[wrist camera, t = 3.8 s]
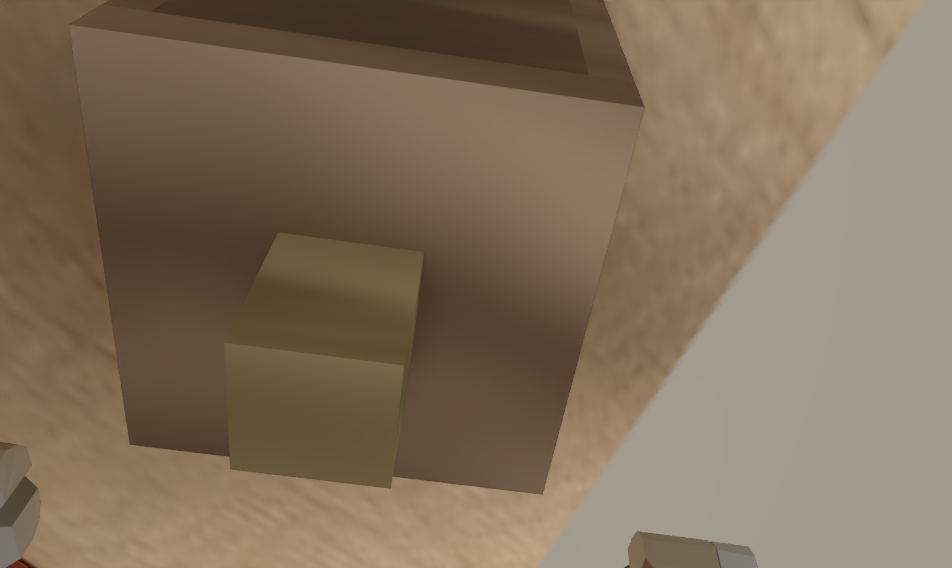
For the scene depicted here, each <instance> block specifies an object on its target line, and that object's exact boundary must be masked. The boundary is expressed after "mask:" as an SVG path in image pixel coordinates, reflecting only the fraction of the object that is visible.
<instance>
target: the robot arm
mask: <svg viewBox="0 0 952 568" xmlns="http://www.w3.org/2000/svg"><path fill="white" fill-rule="evenodd" d="M31 466H32V463H31V460H30V457H29V453H28V450H27V447H25V446H21V445H17V444H11V443H5V442H0V568H6V567H8V566H9V565H11V564H13V563H14V562H16V561H17V560H19V559H21V557H22V555H23V554H24V552H25V551H26V549H27V547H28V546H29V544H30V543H31V541H32V539H33V536H34V533H35V530H36V527H37V524H38V521H39V518H40V504H41V501H40V496H39V492H38V488H37V487H36V486H35V485H34V484H33V483H32V482H30V481H29V480H28V479H27V478H26V477H25V476H24V475H25V474H26V473H27V471H28V470H29V468H30V467H31ZM628 556H629V565H628V566H626V567H625V568H758V566H757V563H756V559H755V556H754V553H753V552H752V551H751V549H750V548H749V547H747V546H740V545H733V544H726V543H718V542H709V541H707V540H701V539H693V538H685V537H678V536H670V535H662V534H654V533H647V532H638V531H637V532H636V533H635V534H634V536H633V537H632V539H631V542H630V544H629V547H628Z"/></svg>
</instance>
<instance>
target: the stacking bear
mask: <svg viewBox="0 0 952 568" xmlns="http://www.w3.org/2000/svg"><path fill="white" fill-rule="evenodd" d="M6 568H29V567H28V566H26V565H25V564H23V563H22V562H20V561H18V560H17V561H16V562H14V563H13V564H11V565H9V566H8V567H6Z"/></svg>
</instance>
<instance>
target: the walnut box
mask: <svg viewBox="0 0 952 568" xmlns="http://www.w3.org/2000/svg"><path fill="white" fill-rule="evenodd" d="M102 5H108V6H115V7H122V8H129V9H136V10H143V11H149V12H156V13H163V14H170V15H177V16H184V17H191V18H198V19H205V20H212V21H218V22H225V23H232V24H239V25H246V26H253V27H260V28H267V29H274V30H281V31H287V32H294V33H301V34H308V35H315V36H322V37H329V38H336V39H343V40H350V41H356V42H363V43H370V44H377V45H384V46H391V47H398V48H405V49H412V50H419V51H425V52H432V53H439V54H446V55H453V56H460V57H467V58H474V59H481V60H488V61H494V62H501V63H508V64H515V65H522V66H529V67H536V68H543V69H550V70H557V71H563V72H570V73H577V74H584V75H591V76H598V77H605V78H612V79H619V80H626V81H632V82H635V81H634V79H633V76H632V74H631V71H630V68H629V66H628V63H627V61H626V58H625V55H624V53H623V50H622V48H621V45H620V43H619V40H618V37H617V35H616V32H615V30H614V27H613V25H612V22H611V19H610V17H609V14H608V12H607V9H606V6H605V4H604V1H603V0H109V1H107V2H106V3H104V4H102Z"/></svg>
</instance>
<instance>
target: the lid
mask: <svg viewBox="0 0 952 568" xmlns="http://www.w3.org/2000/svg"><path fill="white" fill-rule="evenodd" d="M69 31H70V38H71V45H72V52H73V58H74V65H75V72H76V79H77V86H78V93H79V100H80V106H81V113H82V120H83V127H84V134H85V141H86V148H87V154H88V161H89V168H90V175H91V182H92V189H93V196H94V202H95V209H96V216H97V223H98V230H99V237H100V244H101V250H102V257H103V264H104V271H105V278H106V285H107V292H108V298H109V305H110V312H111V319H112V326H113V333H114V340H115V346H116V353H117V360H118V367H119V374H120V381H121V388H122V394H123V401H124V408H125V415H126V422H127V429H128V435H129V442H130V445H137V446H145V447H154V448H162V449H170V450H178V451H187V452H195V453H203V454H211V455H220V456H228V457H230V469H233V470H241V471H249V472H258V473H266V474H274V475H283V476H291V477H299V478H308V479H316V480H324V481H332V482H341V483H349V484H357V485H366V486H374V487H382V488H391V483H392V477H401V478H410V479H418V480H426V481H434V482H443V483H451V484H459V485H467V486H476V487H484V488H492V489H500V490H509V491H517V492H525V493H533V494H542V495H543V491H544V487H545V484H546V480H547V476H548V472H549V468H550V465H551V461H552V457H553V453H554V449H555V446H556V442H557V438H558V434H559V430H560V427H561V423H562V419H563V415H564V411H565V408H566V404H567V400H568V396H569V392H570V389H571V385H572V381H573V377H574V373H575V370H576V366H577V362H578V358H579V354H580V351H581V347H582V343H583V339H584V336H585V332H586V328H587V324H588V320H589V317H590V313H591V309H592V305H593V301H594V298H595V294H596V290H597V286H598V282H599V279H600V275H601V271H602V267H603V263H604V260H605V256H606V252H607V248H608V244H609V241H610V237H611V233H612V229H613V225H614V222H615V218H616V214H617V210H618V206H619V203H620V199H621V195H622V191H623V187H624V184H625V180H626V176H627V172H628V168H629V165H630V161H631V157H632V153H633V150H634V146H635V142H636V138H637V134H638V131H639V127H640V123H641V119H642V115H643V112H644V108H645V107H644V105H643V102H642V99H641V97H640V94H639V92H638V89H637V86H636V84H635V82H632V81H626V80H619V79H612V78H605V77H598V76H591V75H584V74H577V73H570V72H563V71H557V70H550V69H543V68H536V67H529V66H522V65H515V64H508V63H501V62H494V61H488V60H481V59H474V58H467V57H460V56H453V55H446V54H439V53H432V52H425V51H419V50H412V49H405V48H398V47H391V46H384V45H377V44H370V43H363V42H356V41H350V40H343V39H336V38H329V37H322V36H315V35H308V34H301V33H294V32H287V31H281V30H274V29H267V28H260V27H253V26H246V25H239V24H232V23H225V22H218V21H212V20H205V19H198V18H191V17H184V16H177V15H170V14H163V13H156V12H149V11H143V10H136V9H129V8H122V7H115V6H108V5H101V6H99V7H97V8H96V9H94V10H92V11H91V12H89V13H87V14H86V15H84V16H82V17H81V18H79V19H77V20H76V21H74V22H72V23H71V24H69Z"/></svg>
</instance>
